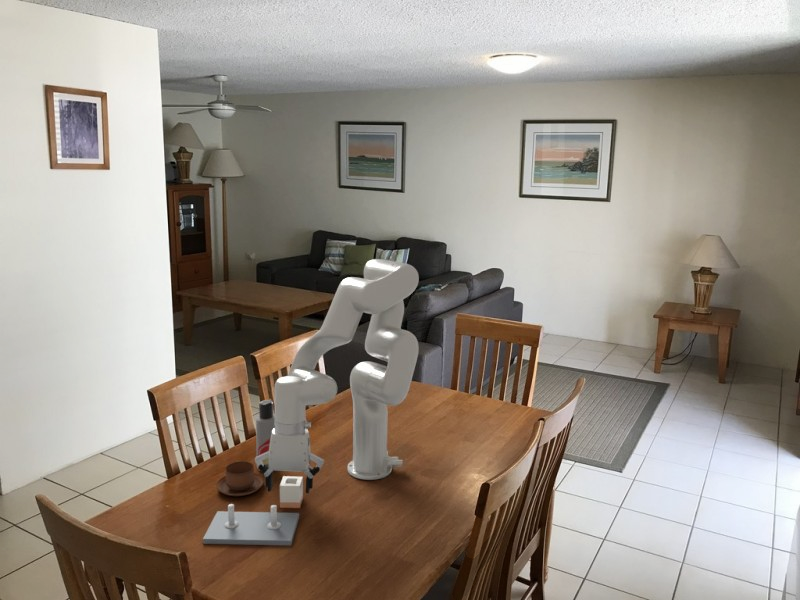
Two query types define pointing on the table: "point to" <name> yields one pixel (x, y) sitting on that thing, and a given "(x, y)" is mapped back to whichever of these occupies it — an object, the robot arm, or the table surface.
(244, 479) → the cup and saucer
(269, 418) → the lotion bottle
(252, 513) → the pin board
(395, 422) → the table surface
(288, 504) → the sleeve
